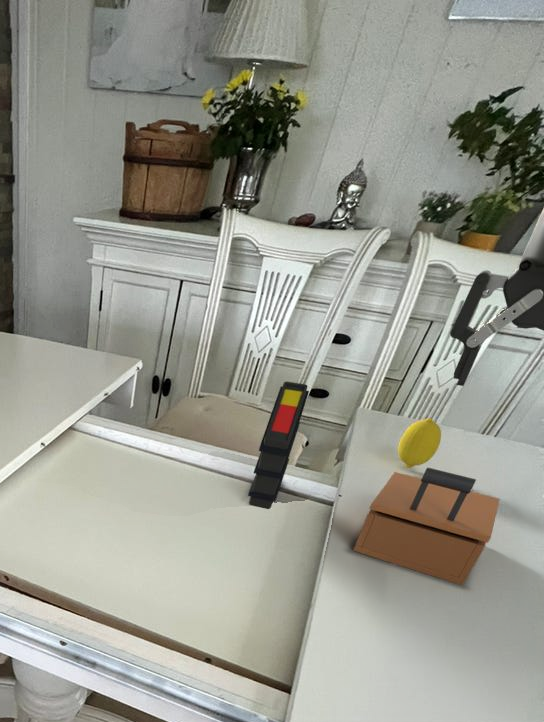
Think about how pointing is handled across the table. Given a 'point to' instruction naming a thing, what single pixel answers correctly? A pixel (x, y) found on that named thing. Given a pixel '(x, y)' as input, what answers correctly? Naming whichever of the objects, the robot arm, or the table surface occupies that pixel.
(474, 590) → the table surface
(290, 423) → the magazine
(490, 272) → the robot arm
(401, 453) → the lemon
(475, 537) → the case cover
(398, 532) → the brown case base
